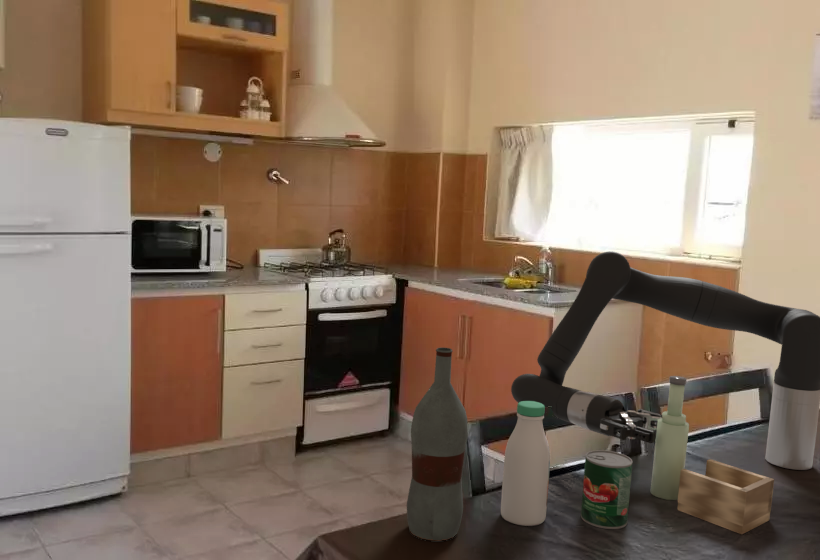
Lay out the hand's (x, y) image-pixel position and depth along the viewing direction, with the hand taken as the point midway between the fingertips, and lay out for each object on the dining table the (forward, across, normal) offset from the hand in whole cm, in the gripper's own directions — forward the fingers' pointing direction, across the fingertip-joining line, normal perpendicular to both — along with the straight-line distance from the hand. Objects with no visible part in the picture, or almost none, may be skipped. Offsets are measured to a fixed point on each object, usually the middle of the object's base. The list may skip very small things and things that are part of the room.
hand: (666, 434), depth 148 cm
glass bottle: (+1, 0, +11) cm, 11 cm away
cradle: (+12, 0, +12) cm, 17 cm away
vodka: (-12, -48, +12) cm, 50 cm away
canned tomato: (+1, -20, +12) cm, 23 cm away
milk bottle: (-7, -31, +12) cm, 34 cm away
